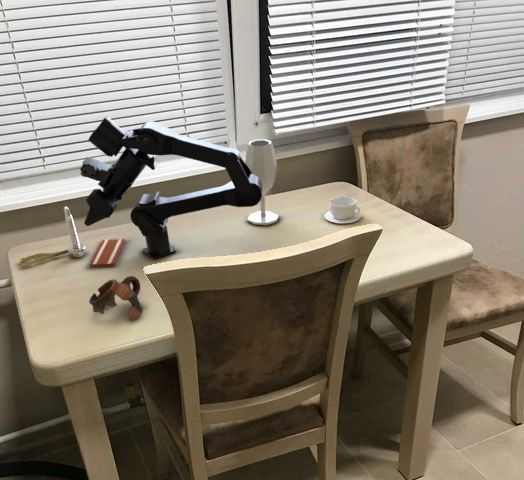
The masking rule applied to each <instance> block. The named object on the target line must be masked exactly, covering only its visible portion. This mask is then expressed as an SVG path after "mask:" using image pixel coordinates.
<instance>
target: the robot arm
mask: <svg viewBox="0 0 524 480" xmlns="http://www.w3.org/2000/svg"><path fill="white" fill-rule="evenodd" d="M87 141H88V142H89V143H91V144H92V145H93V146H94V147H95V148H97V149H98V150H99V151H100V152H102V153H103V154H105V155H106V156H107V157H108V158H109V157H111V158H113V156H114V157H117V156H118V155H119V153H120V152H121V151H122V150H123V148H125V149H124V150H123V151H122V153H121V154H120V156H119V157H118V158H117V160H116V161H115V162H113V164H112V165H109V164H107V163H106V162H103V161H101V160H98V159H96V158H93V157H88V156H87V157H86V158H85V159H83V161H82V165H81V167H80V169H79V170H80V176H82V177H84V178H87V179H90V180H94V181H96V182H98V183H97V186H99V187H100V188H94V189H93V190H92V191H91V193H90V194H89V195H88V196H87V197H86V199H85V201H86V204H87V205H88V207H89V209H88V212H87V215H86V217H85V220H84V222H83V224H84V225H85V226H86V227H90V226H92V225H94V224H96V223H99V222H100V221H102V220H105V219H109V218H111V216H112V215H113V214H114V213H115V211H116V209H117V207H118V204H117V202H118V201H122V199H123V198H124V197H125V195H126V194H127V193H128V191H129V190H130V189H131V188H132V186H133V184H134V183H135V181H136V180H137V179H138V177H139V176H140V175H141V174H142V172H143V171H144V170H145V169H146V167H148V168H149V169H150V170H152V171H155V169H156V168H157V166H158V163H157V156H161V157H162V156H178V157H181V158H185V159H190V160H194V161H198V162H201V163H206V164H209V165H213V166H217V167H221V168H224V169H225V170H226V172H227V175H228V176H229V178H230V180H231V181H229V182H227V183H226V184H223V185H222V186H221V185H220V186H216V187H212V188H207V189H202V190H197V191H192V192H188V193H183V194H179V195H174V196H170V197H165V196H160V191H154V192H152V193H143V194H142V196H141V197H139V198H138V199H137V200H136V202H135V203H134V206H133V208H132V209H131V212H130V216H129V217H130V220H131V222H132V224H133V225H134V226H136V227H137V228H138V230H139V232H140V233H141V235H142V236H143V237H144V239H145V245H146V247H145V248H142V250H141V251H142V252H143V253H145V255H147V256H148V257H150V258H152V259H154V260H155V259H159V258H162V257H165V256H167V255H170V254H173V253H177V249H176V248H175V247H173V246H171V245H170V244H171V243H170V239H169V238H170V237H169V231H168V226H167V223H168V221H169V218H172V217H176V216H181V215H185V214H192V213H195V212H196V213H197V212H200V211H206V210H210V209H215V208H220V207H224V206H230V207H234V208H235V207H236V208H251V207H255V206H257V205H258V204H260V200H261V197H262V182H261V180H260V179H259V177H257V176H256V175H254V174H253V173H252V172H251V170H250V169H249V167H248V166H247V164H246V163H245V160H244V159H243V158H242V156H241V155H240V152H239V150H237V148H234V147H226V146H224V145H223V146H222V145H219V144H216V143H212V142H208V141H204V140H200V139H198V138H197V139H196V138H193V137H189V136H185V135H182V134H180V133H178V132H175V131H174V130H172V129H171V128H169V127H167V126H165V125H163V124H161V123H160V122H159V123H158V122H156V121H153V120H150V121H146V122H145V123H143V124H142V126H141V127H138V128H134V129H129V130H127V131H124V130H123V129H122V128H121V127H119V126H118V125H117V124H116V123H115V121H113V120H112V119H111V118H110V117H109V116H105V117H104V118H103V119H102V121H100V123H99V125H98V126H97V127H96V128H95V129H94V130H93V131H92V133H91V134H90V136H89V138H88V139H87Z"/></svg>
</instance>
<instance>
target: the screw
mask: <svg viewBox="0 0 524 480" xmlns="http://www.w3.org/2000/svg"><path fill="white" fill-rule="evenodd" d="M63 212H64V219H65V224H66V228H67V230H68V231H67V232H68V235H69V237H70V241H71V244H69V245H68V246H67V247H66V250H67V251H68V252H69V253H70V254H72V256H73V258H81V257H83V256H85V254H84V251H85V250H87V248H88V247H87V244H85V243H82V242H80V240H79V236H78V233H77V229H76V226H75V222H74V218H73V215H72V214H71V211H70V208H69V207H68V206H66V205H65V206H64V207H63ZM69 253H68V254H69Z"/></svg>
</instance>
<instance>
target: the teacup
mask: <svg viewBox="0 0 524 480" xmlns="http://www.w3.org/2000/svg"><path fill="white" fill-rule="evenodd" d="M357 203H358V201H357V199H355V198H353V197H351V196H335V197H333V198H331V199H329V211H327V212H326V213H324V216H323V217H324V219H325V220H326V221H328V222H331V223H335V224H351V223H354V222H357V221H359V220H360V219H361V216H362V215H361V213H360V212H361V207H360V206H358V205H357ZM356 210H358V211H356Z"/></svg>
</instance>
